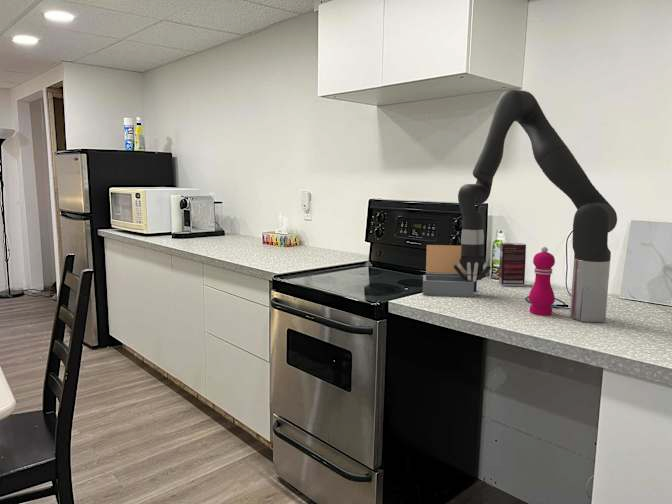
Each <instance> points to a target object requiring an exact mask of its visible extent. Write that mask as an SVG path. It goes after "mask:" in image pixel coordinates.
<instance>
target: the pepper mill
mask: <svg viewBox="0 0 672 504" xmlns="http://www.w3.org/2000/svg"><path fill="white" fill-rule="evenodd" d="M540 250H541V252H537V253H536V254H535V255H534V256H533V259H532V263H533V265H534V266H535V267H534V268H533V269H534V271H533V272H534V273H535V280H534V283H533V285H532V288H531V290H530V291H529V294H528V301H529V303H530V304H531V305H529V313H531V314H533V315H537V316H551V315H552V314H553V307H551V306H552V305H554V303H555V300H556V299H555V297H556V296H555V293H554V291H553V288H552V283H551V275H553V269H552V268H553V266H555V264H556V259H555V256H554V255H553V254H552V253H549V252H548V251H549V248H547V247H546V246H543V247H542V248H541V249H540Z"/></svg>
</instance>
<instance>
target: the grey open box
mask: <svg viewBox="0 0 672 504" xmlns="http://www.w3.org/2000/svg"><path fill="white" fill-rule="evenodd" d="M458 281H460V282H458ZM474 293H475V292H474V282H467V281H466V280H463V279H462V277H461V276H458V275H427V274H423V275H422V296H434V297H435V296H439V297H463V298H467V297H469V298H474Z"/></svg>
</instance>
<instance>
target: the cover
mask: <svg viewBox="0 0 672 504" xmlns="http://www.w3.org/2000/svg"><path fill="white" fill-rule="evenodd" d="M425 252H426V261H425V275H441V276H460V275H459V274H458V272H457V271H456V270H455V269H454V265H456V264H457V263H459V260H460V258H461V245H455V244H454V245H445V244H426V251H425ZM460 266H461V269H460V270H461V271H462V273H463V274H464V275H465V276H467V271H465V269H464V268H463V267H462V265H460Z"/></svg>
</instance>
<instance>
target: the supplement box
mask: <svg viewBox="0 0 672 504" xmlns="http://www.w3.org/2000/svg"><path fill="white" fill-rule="evenodd" d="M499 244H500V245H499V246H500V248H499V251H500V252H499V268H498V269H499V273H498V284H499V285H500V286H501V287H525V281H526V279H525V278H526V277H525V276H526V259H527V258H526V256H527V255H526V253H527V244H526V243H522V242H519V243H518V242H508V243H507V242H501V243H499Z"/></svg>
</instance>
